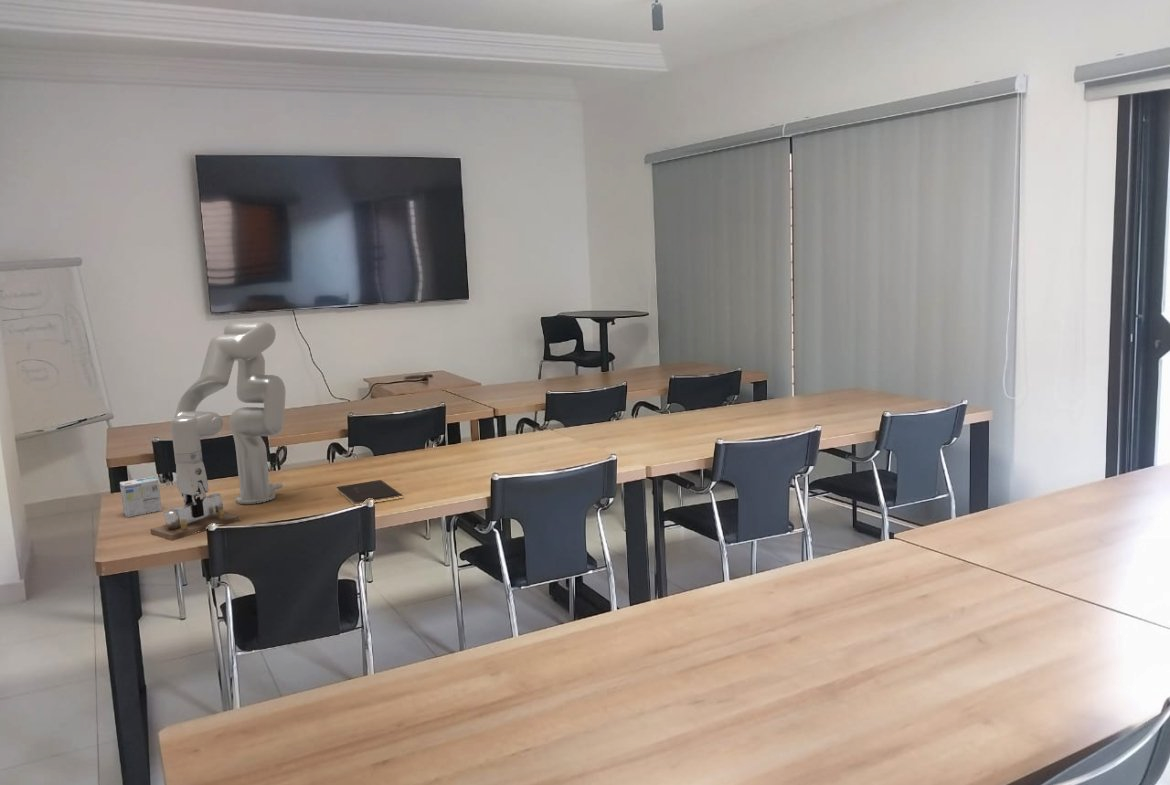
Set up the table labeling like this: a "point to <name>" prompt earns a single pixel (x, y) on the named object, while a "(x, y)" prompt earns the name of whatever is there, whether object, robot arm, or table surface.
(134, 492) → the light bulb box
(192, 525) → the tool board
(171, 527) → the silver dumbbell
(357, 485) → the hardcover book
